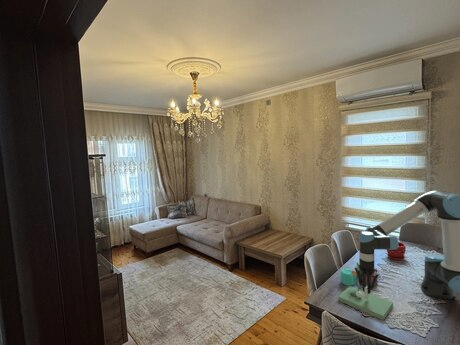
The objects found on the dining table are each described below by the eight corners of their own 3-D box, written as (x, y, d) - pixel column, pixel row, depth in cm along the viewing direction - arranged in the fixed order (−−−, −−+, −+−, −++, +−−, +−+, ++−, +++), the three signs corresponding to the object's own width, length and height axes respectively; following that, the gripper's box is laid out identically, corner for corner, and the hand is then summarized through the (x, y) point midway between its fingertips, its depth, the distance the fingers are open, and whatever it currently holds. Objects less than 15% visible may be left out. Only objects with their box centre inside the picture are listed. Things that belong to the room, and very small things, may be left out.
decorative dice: (343, 278, 166) (343, 267, 166) (355, 281, 161) (355, 270, 161) (340, 283, 160) (340, 272, 160) (353, 287, 155) (353, 275, 155)
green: (392, 306, 135) (393, 282, 134) (383, 320, 125) (383, 294, 124) (349, 289, 153) (349, 268, 152) (338, 300, 143) (337, 277, 142)
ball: (361, 297, 141) (364, 293, 140) (359, 300, 139) (362, 296, 138) (356, 293, 144) (358, 289, 142) (353, 295, 141) (356, 291, 140)
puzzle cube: (377, 283, 158) (377, 269, 157) (361, 282, 160) (361, 268, 159) (371, 275, 168) (371, 262, 167) (356, 275, 170) (356, 261, 169)
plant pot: (404, 256, 194) (404, 242, 193) (406, 262, 183) (406, 247, 182) (385, 253, 201) (385, 239, 200) (385, 259, 190) (386, 245, 189)
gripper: (381, 260, 133) (381, 299, 135) (357, 253, 143) (357, 290, 145) (377, 264, 128) (377, 305, 130) (352, 257, 138) (352, 295, 140)
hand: (366, 297), depth 138 cm, fingers closed
